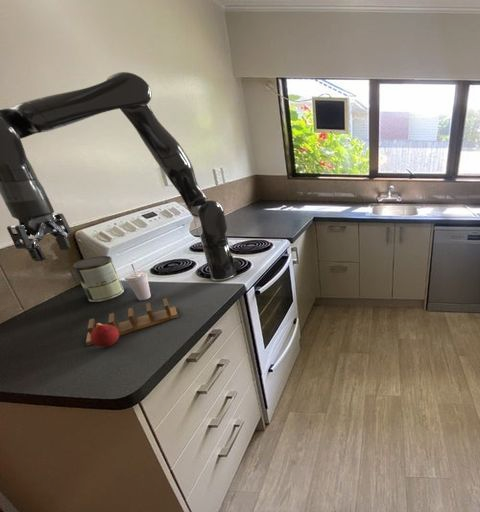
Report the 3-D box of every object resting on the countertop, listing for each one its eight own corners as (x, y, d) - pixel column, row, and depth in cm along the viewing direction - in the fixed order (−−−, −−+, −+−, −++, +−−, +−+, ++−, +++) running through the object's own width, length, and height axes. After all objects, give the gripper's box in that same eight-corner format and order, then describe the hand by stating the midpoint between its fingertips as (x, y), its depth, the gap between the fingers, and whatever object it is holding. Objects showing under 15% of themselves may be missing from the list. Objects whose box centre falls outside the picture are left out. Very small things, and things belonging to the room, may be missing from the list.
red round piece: (122, 336, 86) (112, 314, 83) (124, 346, 82) (113, 323, 79) (95, 346, 82) (84, 323, 79) (96, 356, 79) (84, 332, 76)
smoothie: (136, 304, 103) (122, 269, 98) (131, 298, 107) (117, 264, 101) (157, 296, 108) (145, 262, 102) (152, 291, 111) (139, 258, 106)
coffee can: (80, 302, 105) (63, 267, 99) (106, 288, 114) (92, 255, 109) (107, 302, 104) (92, 267, 99) (131, 288, 114) (118, 255, 108)
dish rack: (175, 309, 100) (171, 296, 98) (178, 317, 96) (173, 303, 94) (89, 335, 87) (82, 321, 85) (87, 345, 83) (80, 330, 81)
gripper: (17, 202, 69) (48, 263, 76) (64, 192, 82) (87, 245, 89) (-21, 204, 68) (13, 266, 74) (33, 193, 81) (59, 247, 87)
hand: (53, 254), depth 82 cm, fingers open, 8 cm apart
